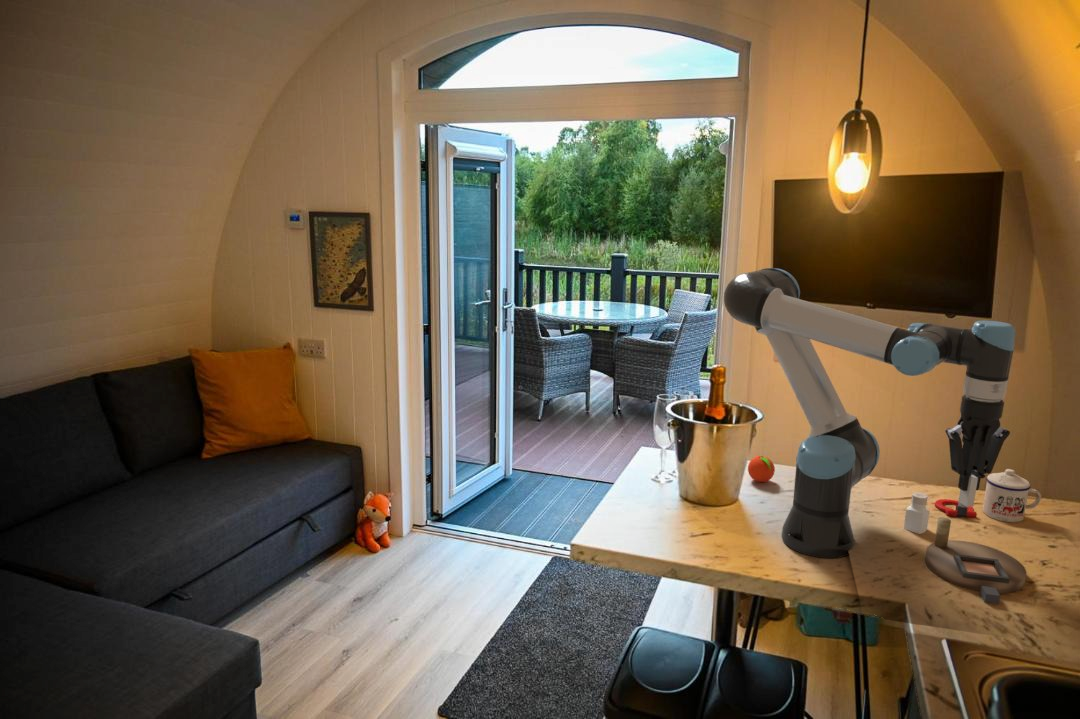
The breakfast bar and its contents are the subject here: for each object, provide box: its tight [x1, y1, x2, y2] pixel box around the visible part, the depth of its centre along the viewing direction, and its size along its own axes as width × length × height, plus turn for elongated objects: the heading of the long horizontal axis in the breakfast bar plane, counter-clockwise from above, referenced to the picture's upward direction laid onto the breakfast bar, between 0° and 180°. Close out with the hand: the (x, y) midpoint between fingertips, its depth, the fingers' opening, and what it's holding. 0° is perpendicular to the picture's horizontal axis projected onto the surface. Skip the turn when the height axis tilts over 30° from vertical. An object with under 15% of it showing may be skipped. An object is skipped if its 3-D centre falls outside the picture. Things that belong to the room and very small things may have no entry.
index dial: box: [924, 516, 1027, 594], centre depth 155 cm, size 18×18×8 cm
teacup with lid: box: [982, 468, 1042, 523], centre depth 182 cm, size 12×9×12 cm
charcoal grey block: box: [979, 586, 1001, 605], centre depth 145 cm, size 2×3×3 cm
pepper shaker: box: [903, 492, 930, 535], centre depth 173 cm, size 4×4×10 cm
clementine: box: [747, 455, 776, 483], centre depth 202 cm, size 8×7×7 cm
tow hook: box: [934, 498, 978, 519], centre depth 185 cm, size 8×13×9 cm
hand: (965, 503), depth 160 cm, fingers closed
